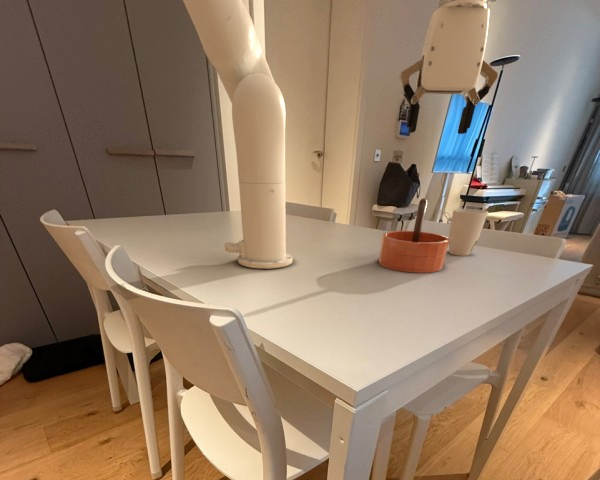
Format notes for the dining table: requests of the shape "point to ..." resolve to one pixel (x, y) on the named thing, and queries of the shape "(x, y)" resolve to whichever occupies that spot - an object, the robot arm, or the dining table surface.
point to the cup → (465, 230)
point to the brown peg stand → (419, 220)
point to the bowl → (413, 251)
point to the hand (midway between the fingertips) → (436, 132)
